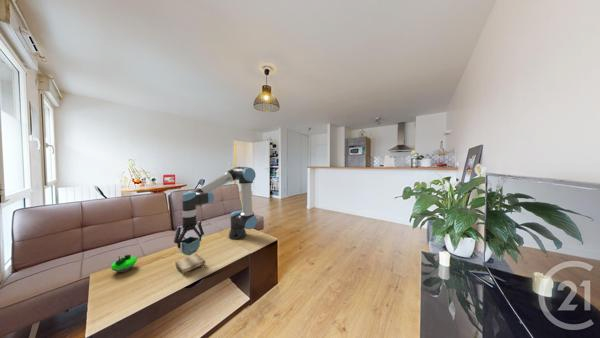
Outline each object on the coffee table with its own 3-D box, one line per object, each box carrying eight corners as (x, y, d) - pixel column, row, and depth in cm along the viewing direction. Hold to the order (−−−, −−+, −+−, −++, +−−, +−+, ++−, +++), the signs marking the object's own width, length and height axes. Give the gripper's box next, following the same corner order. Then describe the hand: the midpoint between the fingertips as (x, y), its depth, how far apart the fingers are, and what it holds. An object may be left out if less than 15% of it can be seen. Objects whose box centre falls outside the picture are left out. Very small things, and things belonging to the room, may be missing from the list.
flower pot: (178, 255, 116) (178, 241, 115) (191, 248, 124) (190, 236, 123) (188, 258, 113) (188, 244, 112) (200, 251, 121) (200, 238, 120)
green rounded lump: (128, 275, 110) (127, 258, 110) (105, 276, 108) (105, 259, 108) (141, 263, 122) (141, 248, 121) (122, 264, 120) (121, 249, 119)
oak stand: (196, 259, 128) (196, 253, 128) (205, 266, 120) (205, 260, 120) (175, 268, 118) (175, 262, 117) (183, 276, 110) (183, 269, 110)
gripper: (204, 211, 128) (204, 241, 129) (166, 219, 110) (167, 254, 111) (209, 213, 124) (209, 244, 125) (171, 221, 106) (171, 258, 107)
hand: (189, 249), depth 118 cm, fingers closed on flower pot, 10 cm apart
